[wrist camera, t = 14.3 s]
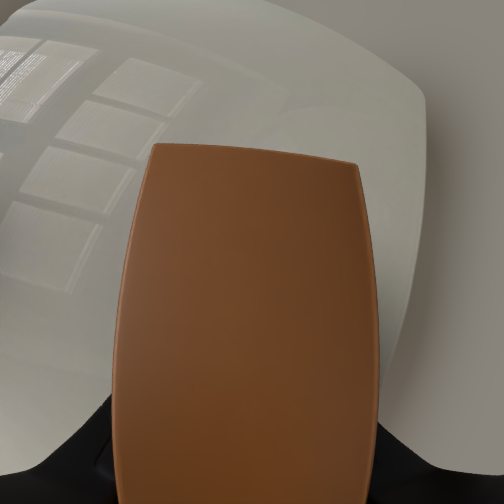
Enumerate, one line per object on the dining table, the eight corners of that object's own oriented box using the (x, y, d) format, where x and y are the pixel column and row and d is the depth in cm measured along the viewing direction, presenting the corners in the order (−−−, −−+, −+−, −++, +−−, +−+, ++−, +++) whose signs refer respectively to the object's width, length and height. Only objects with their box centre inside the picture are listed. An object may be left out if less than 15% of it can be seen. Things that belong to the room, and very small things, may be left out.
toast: (251, 430, 13) (342, 589, 1) (194, 427, 13) (140, 593, 1) (255, 307, 15) (358, 162, 4) (200, 304, 15) (152, 140, 4)
